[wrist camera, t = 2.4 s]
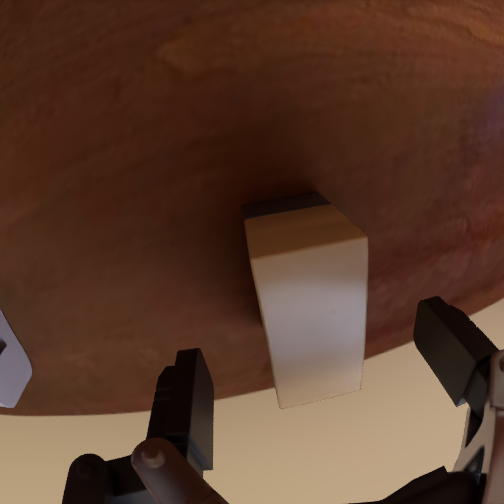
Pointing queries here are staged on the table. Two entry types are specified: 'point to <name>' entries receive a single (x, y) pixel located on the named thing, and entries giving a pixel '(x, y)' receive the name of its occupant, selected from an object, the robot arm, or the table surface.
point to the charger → (12, 366)
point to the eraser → (309, 295)
